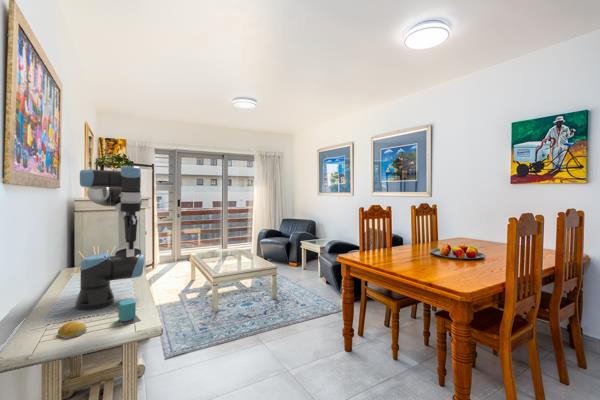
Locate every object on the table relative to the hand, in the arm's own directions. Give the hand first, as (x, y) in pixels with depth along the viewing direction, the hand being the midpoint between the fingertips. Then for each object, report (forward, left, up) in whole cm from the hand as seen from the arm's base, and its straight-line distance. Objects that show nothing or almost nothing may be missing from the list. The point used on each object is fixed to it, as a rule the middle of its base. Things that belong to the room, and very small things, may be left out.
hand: (130, 256), depth 130 cm
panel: (+5, -1, -26) cm, 27 cm away
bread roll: (+3, -21, -27) cm, 34 cm away
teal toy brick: (+4, -2, -25) cm, 25 cm away
